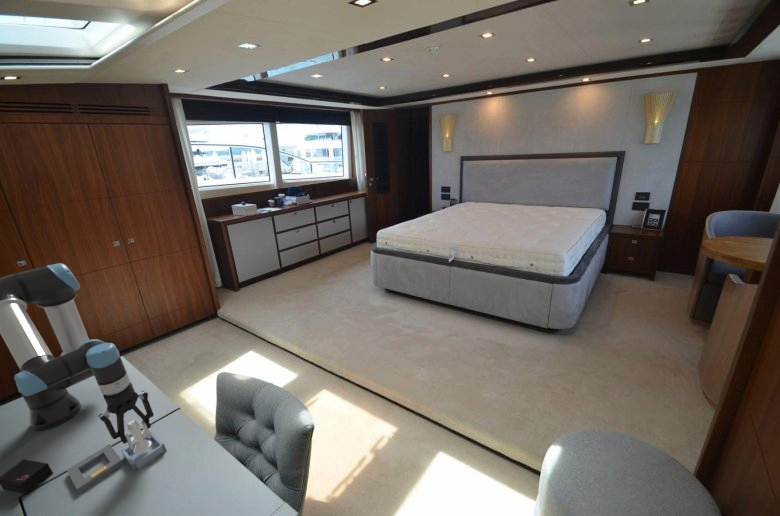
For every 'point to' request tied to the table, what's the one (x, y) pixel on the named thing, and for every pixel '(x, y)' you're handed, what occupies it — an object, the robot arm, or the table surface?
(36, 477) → the electronic device
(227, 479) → the table surface
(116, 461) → the socket panel
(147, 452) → the tray
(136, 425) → the white cylindrical piece
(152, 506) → the table surface
